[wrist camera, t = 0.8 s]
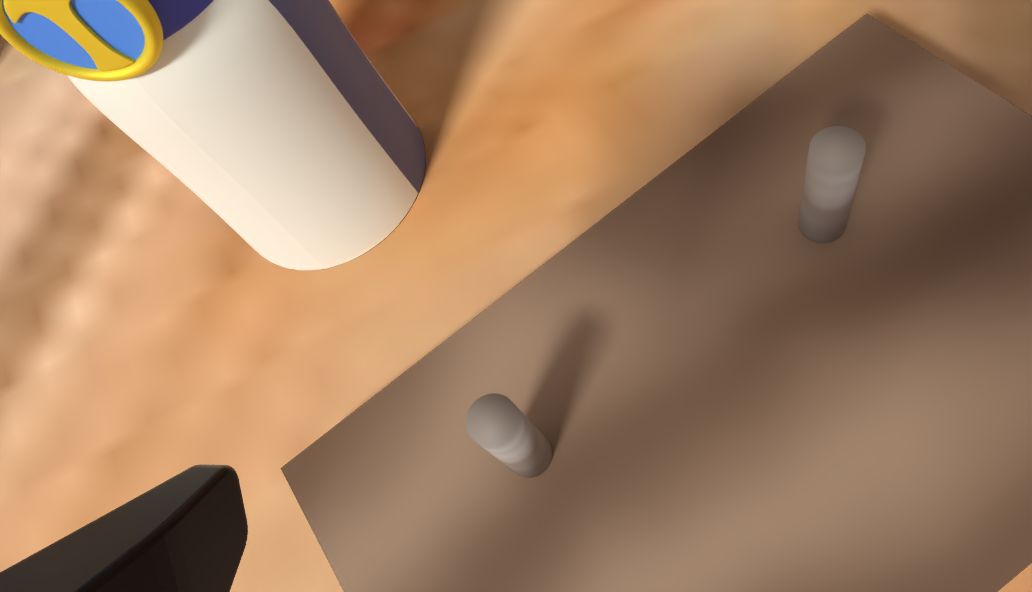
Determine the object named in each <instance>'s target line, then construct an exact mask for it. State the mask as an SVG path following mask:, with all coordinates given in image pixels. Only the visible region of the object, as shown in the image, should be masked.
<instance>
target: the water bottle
mask: <svg viewBox="0 0 1032 592" xmlns="http://www.w3.org/2000/svg"><path fill="white" fill-rule="evenodd" d="M0 34H1V36H2V37H3V38H4V39H5V40H6V41H7V42H9V43H10V44H11V45H12V46H13V47H14V48H16V49H17V50H18V51H20V52H21V53H22V54H24V55H25V56H27V57H28V58H30V59H32V60H33V61H35V62H37V63H39V64H41V65H43V66H45V67H47V68H49V69H52V70H54V71H57V72H59V73H62V74H65V75H67V76H68V77H69V79H70V80H71V81H72V82H73V84H74V85H75V86H76V87H77V89H78V90H79V91H80V92H81V93H82V94H83V95H84V96H85V97H86V98H87V99H88V100H89V101H90V102H91V103H92V104H93V105H94V106H95V107H96V108H98V109H99V110H100V111H101V112H102V113H103V114H104V115H105V116H106V117H108V118H109V119H110V120H111V121H112V122H113V123H114V124H115V125H117V126H118V127H119V128H120V129H121V130H122V131H123V132H125V133H126V134H127V135H128V136H129V137H130V138H132V139H133V140H134V141H135V142H136V143H137V144H139V145H140V146H141V147H142V148H143V149H145V150H146V151H147V152H148V153H149V154H150V155H152V156H153V157H154V158H155V159H156V160H157V161H159V162H160V163H161V164H162V165H163V166H164V167H166V168H167V169H168V170H169V171H170V172H171V173H173V174H174V175H175V176H176V177H177V178H178V179H179V180H180V181H182V182H183V183H184V184H185V185H186V186H187V187H188V188H189V189H191V190H192V191H193V192H194V193H195V194H196V195H197V196H198V197H199V198H200V199H202V200H203V201H204V202H205V203H206V204H207V205H208V206H209V207H210V208H211V209H212V210H213V211H215V212H216V213H217V214H218V215H219V216H220V217H221V218H222V219H223V220H224V221H225V222H226V223H227V224H228V225H229V226H231V227H232V228H233V229H234V230H235V231H236V232H237V233H238V234H239V235H240V236H241V237H242V238H243V239H244V240H245V241H246V242H247V243H248V244H249V245H250V246H251V247H252V248H254V249H255V250H256V251H257V252H258V253H259V254H260V255H261V256H263V257H264V258H265V259H267V260H268V261H270V262H272V263H274V264H276V265H279V266H282V267H285V268H289V269H295V270H320V269H327V268H330V267H334V266H337V265H340V264H343V263H345V262H348V261H350V260H352V259H354V258H356V257H358V256H360V255H362V254H364V253H365V252H367V251H369V250H370V249H372V248H373V247H375V246H376V245H377V244H379V243H380V242H381V241H382V240H384V239H385V238H386V237H387V236H388V235H389V234H390V233H391V232H392V231H393V230H394V229H395V228H396V227H397V226H398V225H399V223H400V222H401V221H402V220H403V218H404V217H405V216H406V214H407V213H408V211H409V210H410V208H411V207H412V205H413V203H414V201H415V199H416V197H417V195H418V193H419V190H420V187H421V184H422V181H423V177H424V172H425V163H426V154H425V146H424V141H423V138H422V135H421V133H420V131H419V129H418V127H417V125H416V124H415V122H414V121H413V119H412V118H411V117H410V115H409V114H408V113H407V111H406V110H405V108H404V107H403V106H402V104H401V103H400V102H399V100H398V99H397V98H396V96H395V95H394V94H393V92H392V91H391V90H390V88H389V87H388V85H387V84H386V83H385V81H384V80H383V79H382V77H381V76H380V75H379V73H378V72H377V70H376V69H375V67H374V66H373V65H372V63H371V62H370V60H369V59H368V58H367V56H366V55H365V53H364V52H363V51H362V49H361V48H360V46H359V45H358V43H357V42H356V40H355V39H354V37H353V36H352V35H351V33H350V32H349V30H348V29H347V27H346V26H345V24H344V23H343V21H342V20H341V18H340V16H339V15H338V13H337V12H336V10H335V9H334V7H333V6H332V4H331V3H330V1H329V0H0Z"/></svg>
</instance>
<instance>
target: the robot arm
mask: <svg viewBox="0 0 1032 592" xmlns="http://www.w3.org/2000/svg"><path fill="white" fill-rule="evenodd" d="M247 534H248V525H247V519H246V514H245V509H244V504H243V499H242V494H241V489H240V484H239V479H238V476H237V473H236V471H235V469H233V468H232V467H230V466H228V465H195V466H193V467H191V468H189V469H187V470H185V471H184V472H182V473H180V474H178V475H176V476H175V477H173V478H171V479H169V480H167V481H165V482H164V483H162V484H160V485H158V486H156V487H155V488H153V489H151V490H149V491H147V492H146V493H144V494H142V495H140V496H138V497H136V498H135V499H133V500H131V501H129V502H127V503H126V504H124V505H122V506H120V507H118V508H116V509H115V510H113V511H111V512H109V513H107V514H106V515H104V516H102V517H100V518H98V519H97V520H95V521H93V522H91V523H89V524H87V525H86V526H84V527H82V528H80V529H78V530H77V531H75V532H73V533H71V534H69V535H68V536H66V537H64V538H62V539H60V540H58V541H57V542H55V543H53V544H51V545H49V546H48V547H46V548H44V549H42V550H40V551H38V552H37V553H35V554H33V555H31V556H29V557H28V558H26V559H24V560H22V561H20V562H19V563H17V564H15V565H13V566H11V567H9V568H8V569H6V570H4V571H2V572H0V592H230V589H231V586H232V583H233V580H234V577H235V574H236V572H237V569H238V566H239V563H240V560H241V557H242V554H243V552H244V549H245V545H246V541H247Z"/></svg>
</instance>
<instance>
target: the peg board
mask: <svg viewBox="0 0 1032 592" xmlns="http://www.w3.org/2000/svg"><path fill="white" fill-rule="evenodd" d="M281 470H282V472H283V474H284V476H285V478H286V480H287V481H288V483H289V485H290V487H291V489H292V491H293V493H294V495H295V497H296V499H297V501H298V503H299V505H300V507H301V509H302V511H303V513H304V515H305V517H306V519H307V521H308V523H309V524H310V526H311V528H312V530H313V532H314V534H315V536H316V538H317V540H318V542H319V544H320V546H321V548H322V550H323V552H324V554H325V556H326V558H327V560H328V562H329V564H330V566H331V568H332V569H333V571H334V573H335V575H336V577H337V579H338V581H339V583H340V585H341V587H342V589H343V591H344V592H998V591H999V590H1000V589H1001V588H1002V587H1004V586H1005V585H1006V584H1007V583H1008V582H1010V581H1011V580H1012V579H1013V578H1014V577H1016V576H1017V575H1018V574H1019V573H1020V572H1021V571H1023V570H1024V569H1025V568H1026V567H1027V566H1029V565H1030V564H1031V563H1032V116H1030V115H1029V114H1027V113H1026V112H1024V111H1022V110H1021V109H1019V108H1018V107H1016V106H1014V105H1013V104H1011V103H1010V102H1008V101H1006V100H1005V99H1003V98H1002V97H1000V96H998V95H997V94H995V93H994V92H992V91H990V90H989V89H987V88H986V87H984V86H982V85H981V84H979V83H978V82H976V81H974V80H973V79H971V78H970V77H968V76H967V75H965V74H963V73H962V72H960V71H959V70H957V69H955V68H954V67H952V66H951V65H949V64H947V63H946V62H944V61H943V60H941V59H939V58H938V57H936V56H935V55H933V54H931V53H930V52H928V51H927V50H925V49H923V48H922V47H920V46H919V45H917V44H915V43H914V42H912V41H911V40H909V39H907V38H906V37H904V36H903V35H901V34H899V33H898V32H896V31H895V30H893V29H891V28H890V27H888V26H887V25H885V24H883V23H882V22H880V21H879V20H877V19H875V18H874V17H872V16H871V15H869V14H865V15H864V16H863V17H861V18H860V19H859V20H858V21H856V22H855V23H854V24H852V25H851V26H850V27H849V28H847V29H846V30H845V31H843V32H842V33H841V34H840V35H838V36H837V37H836V38H834V39H833V40H832V41H831V42H829V43H828V44H827V45H825V46H824V47H823V48H822V49H820V50H819V51H818V52H816V53H815V54H814V55H813V56H811V57H810V58H809V59H807V60H806V61H805V62H804V63H802V64H801V65H800V66H798V67H797V68H796V69H794V70H793V71H792V72H791V73H789V74H788V75H787V76H785V77H784V78H783V79H782V80H780V81H779V82H778V83H776V84H775V85H774V86H773V87H771V88H770V89H769V90H767V91H766V92H765V93H764V94H762V95H761V96H760V97H758V98H757V99H756V100H755V101H753V102H752V103H751V104H749V105H748V106H747V107H746V108H744V109H743V110H742V111H740V112H739V113H738V114H737V115H735V116H734V117H733V118H731V119H730V120H729V121H727V122H726V123H725V124H724V125H722V126H721V127H720V128H718V129H717V130H716V131H715V132H713V133H712V134H711V135H709V136H708V137H707V138H706V139H704V140H703V141H702V142H700V143H699V144H698V145H697V146H695V147H694V148H693V149H691V150H690V151H689V152H688V153H686V154H685V155H684V156H682V157H681V158H680V159H679V160H677V161H676V162H675V163H673V164H672V165H671V166H669V167H668V168H667V169H666V170H664V171H663V172H662V173H660V174H659V175H658V176H657V177H655V178H654V179H653V180H651V181H650V182H649V183H648V184H646V185H645V186H644V187H642V188H641V189H640V190H639V191H637V192H636V193H635V194H633V195H632V196H631V197H630V198H628V199H627V200H626V201H624V202H623V203H622V204H621V205H619V206H618V207H617V208H615V209H614V210H613V211H612V212H610V213H609V214H608V215H606V216H605V217H604V218H602V219H601V220H600V221H599V222H597V223H596V224H595V225H593V226H592V227H591V228H590V229H588V230H587V231H586V232H584V233H583V234H582V235H581V236H579V237H578V238H577V239H575V240H574V241H573V242H572V243H570V244H569V245H568V246H566V247H565V248H564V249H563V250H561V251H560V252H559V253H557V254H556V255H555V256H554V257H552V258H551V259H550V260H548V261H547V262H546V263H545V264H543V265H542V266H541V267H539V268H538V269H537V270H535V271H534V272H533V273H532V274H530V275H529V276H528V277H526V278H525V279H524V280H523V281H521V282H520V283H519V284H517V285H516V286H515V287H514V288H512V289H511V290H510V291H508V292H507V293H506V294H505V295H503V296H502V297H501V298H499V299H498V300H497V301H496V302H494V303H493V304H492V305H490V306H489V307H488V308H487V309H485V310H484V311H483V312H481V313H480V314H479V315H477V316H476V317H475V318H474V319H472V320H471V321H470V322H468V323H467V324H466V325H465V326H463V327H462V328H461V329H459V330H458V331H457V332H456V333H454V334H453V335H452V336H450V337H449V338H448V339H447V340H445V341H444V342H443V343H441V344H440V345H439V346H438V347H436V348H435V349H434V350H432V351H431V352H430V353H429V354H427V355H426V356H425V357H423V358H422V359H421V360H420V361H418V362H417V363H416V364H414V365H413V366H412V367H410V368H409V369H408V370H407V371H405V372H404V373H403V374H401V375H400V376H399V377H398V378H396V379H395V380H394V381H392V382H391V383H390V384H389V385H387V386H386V387H385V388H383V389H382V390H381V391H380V392H378V393H377V394H376V395H374V396H373V397H372V398H371V399H369V400H368V401H367V402H365V403H364V404H363V405H362V406H360V407H359V408H358V409H356V410H355V411H354V412H353V413H351V414H350V415H349V416H347V417H346V418H345V419H343V420H342V421H341V422H340V423H338V424H337V425H336V426H334V427H333V428H332V429H331V430H329V431H328V432H327V433H325V434H324V435H323V436H322V437H320V438H319V439H318V440H316V441H315V442H314V443H313V444H311V445H310V446H309V447H307V448H306V449H305V450H304V451H302V452H301V453H300V454H298V455H297V456H296V457H295V458H293V459H292V460H291V461H289V462H288V463H287V464H285V465H284V466H283V467H282V468H281Z"/></svg>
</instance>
